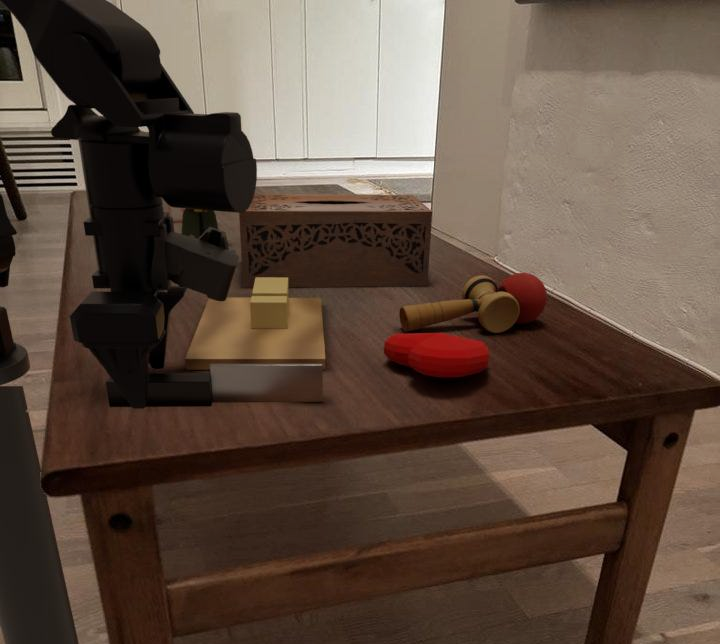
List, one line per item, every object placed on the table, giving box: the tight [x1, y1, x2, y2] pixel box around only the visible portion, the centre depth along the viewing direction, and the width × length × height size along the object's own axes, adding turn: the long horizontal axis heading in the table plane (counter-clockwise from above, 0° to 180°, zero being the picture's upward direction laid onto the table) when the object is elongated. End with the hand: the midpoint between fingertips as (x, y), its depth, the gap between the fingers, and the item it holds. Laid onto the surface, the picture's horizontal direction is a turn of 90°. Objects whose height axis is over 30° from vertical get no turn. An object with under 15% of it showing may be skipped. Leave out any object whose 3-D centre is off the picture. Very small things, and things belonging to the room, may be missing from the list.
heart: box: [383, 332, 490, 378], centre depth 74 cm, size 12×4×10 cm
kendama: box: [398, 272, 548, 334], centre depth 87 cm, size 8×6×18 cm
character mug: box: [181, 208, 220, 239], centre depth 119 cm, size 11×7×13 cm, turn 106°
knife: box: [105, 364, 324, 408], centre depth 66 cm, size 19×2×4 cm, turn 94°
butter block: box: [251, 277, 290, 309], centre depth 88 cm, size 4×7×3 cm, turn 4°
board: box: [184, 297, 327, 371], centre depth 84 cm, size 14×22×1 cm, turn 4°
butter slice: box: [250, 295, 288, 329], centre depth 82 cm, size 4×2×3 cm, turn 94°
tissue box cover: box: [238, 193, 433, 289], centre depth 106 cm, size 26×14×10 cm, turn 97°
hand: (149, 387), depth 66 cm, fingers open, 9 cm apart
